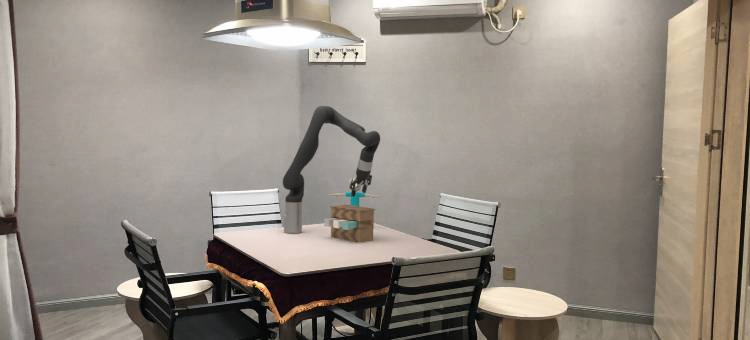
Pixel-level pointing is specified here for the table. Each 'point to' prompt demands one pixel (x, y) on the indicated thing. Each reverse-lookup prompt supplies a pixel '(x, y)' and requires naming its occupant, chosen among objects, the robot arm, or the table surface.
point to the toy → (355, 199)
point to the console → (353, 214)
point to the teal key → (350, 225)
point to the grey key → (329, 221)
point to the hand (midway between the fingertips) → (358, 194)
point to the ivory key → (339, 223)
